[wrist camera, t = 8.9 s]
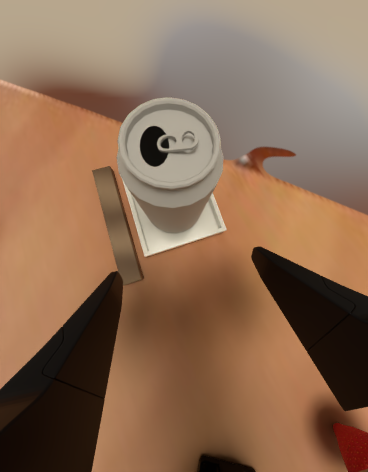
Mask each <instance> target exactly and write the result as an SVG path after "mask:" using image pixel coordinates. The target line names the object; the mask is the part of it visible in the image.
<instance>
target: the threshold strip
mask: <svg viewBox="0 0 368 472" xmlns="http://www.w3.org/2000/svg"><path fill="white" fill-rule="evenodd" d="M92 172H93V176H94V179H95V183H96V187H97V191H98V195H99V199H100V203H101V206H102V210H103V214H104V218H105V222H106V226H107V230H108V234H109V237H110V241H111V245H112V249H113V253H114V257H115V261H116V264H117V268H118V272H119V273H120V275H121V277H122V279H123V286H124V285H126V284H129V283H132V282H135V281H138V280H141V279H143V274H142V271H141V267H140V264H139V260H138V257H137V253H136V250H135V246H134V242H133V239H132V235H131V232H130V228H129V225H128V221H127V218H126V214H125V210H124V207H123V203H122V200H121V196H120V193H119V189H118V186H117V182H116V179H115V175H114V171H113V170H112V169H111V167H110V166H108V167H104V168H100V169H96V170H92Z"/></svg>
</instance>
